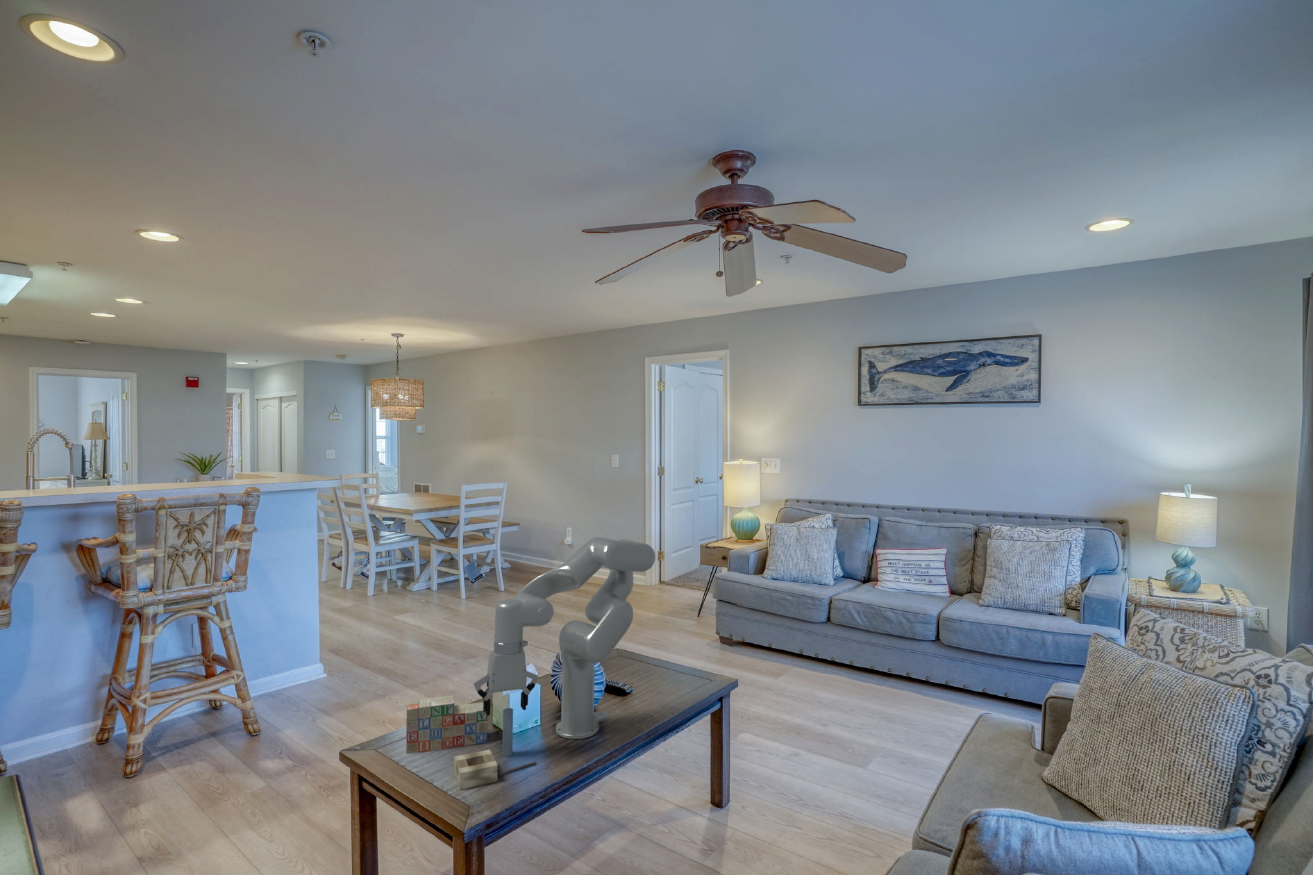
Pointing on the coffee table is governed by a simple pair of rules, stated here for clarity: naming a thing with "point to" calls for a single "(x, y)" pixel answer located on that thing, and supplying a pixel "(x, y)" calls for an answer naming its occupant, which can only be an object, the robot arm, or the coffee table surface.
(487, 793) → the coffee table surface
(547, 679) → the coffee table surface
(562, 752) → the coffee table surface
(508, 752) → the grey peg
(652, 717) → the coffee table surface
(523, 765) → the dark brown rod
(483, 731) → the stack of blocks
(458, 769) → the beige hollow block
